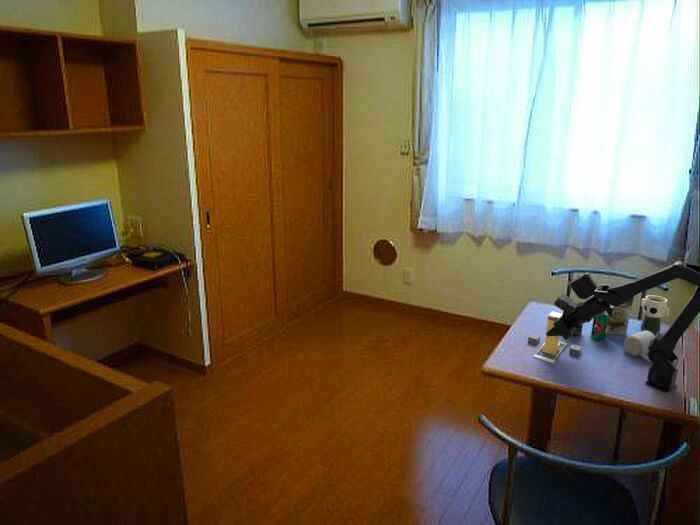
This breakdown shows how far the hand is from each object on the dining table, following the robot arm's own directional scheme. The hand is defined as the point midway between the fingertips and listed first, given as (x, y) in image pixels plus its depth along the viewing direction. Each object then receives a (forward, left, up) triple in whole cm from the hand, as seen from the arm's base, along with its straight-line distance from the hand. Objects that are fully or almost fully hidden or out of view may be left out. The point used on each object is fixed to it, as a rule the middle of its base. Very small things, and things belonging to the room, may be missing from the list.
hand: (548, 332), depth 178 cm
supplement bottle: (+4, -20, -8) cm, 21 cm away
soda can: (-4, -24, -8) cm, 25 cm away
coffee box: (-2, -36, -8) cm, 37 cm away
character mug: (-10, -48, -8) cm, 49 cm away
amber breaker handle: (-1, 0, -6) cm, 7 cm away
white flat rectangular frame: (-1, -1, -8) cm, 8 cm away
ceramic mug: (-19, -26, -8) cm, 33 cm away
